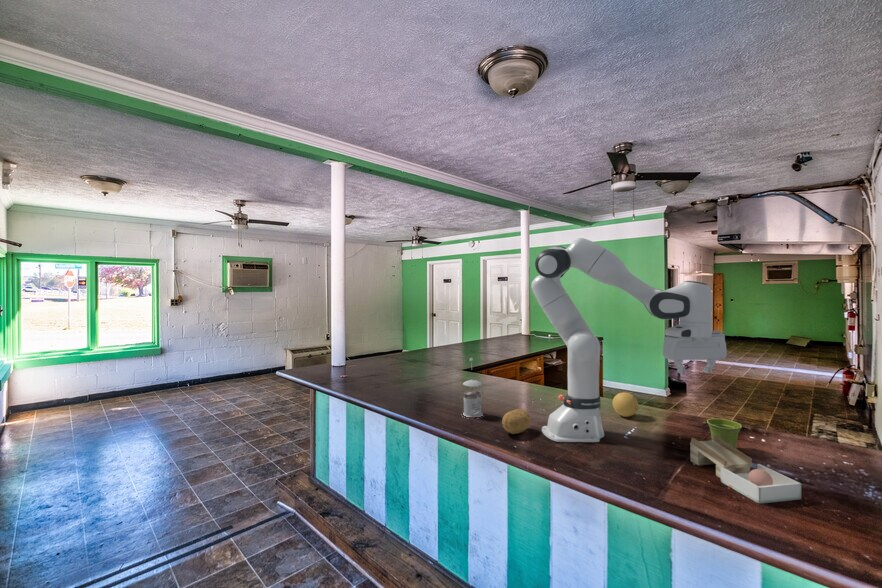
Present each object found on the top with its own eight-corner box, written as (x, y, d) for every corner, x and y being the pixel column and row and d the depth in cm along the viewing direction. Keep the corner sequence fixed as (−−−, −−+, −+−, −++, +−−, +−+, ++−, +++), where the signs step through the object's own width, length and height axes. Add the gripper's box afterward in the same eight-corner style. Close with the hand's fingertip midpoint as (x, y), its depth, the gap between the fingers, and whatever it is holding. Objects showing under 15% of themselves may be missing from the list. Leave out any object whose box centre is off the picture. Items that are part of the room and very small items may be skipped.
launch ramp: (724, 480, 108) (724, 454, 108) (690, 460, 120) (689, 437, 120) (752, 477, 109) (752, 451, 109) (716, 458, 121) (715, 435, 121)
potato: (494, 435, 145) (494, 414, 145) (513, 424, 156) (512, 405, 156) (518, 441, 139) (517, 419, 138) (535, 429, 149) (535, 409, 149)
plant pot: (749, 454, 124) (749, 427, 124) (722, 455, 123) (721, 428, 123) (726, 442, 133) (725, 417, 133) (700, 444, 133) (700, 419, 133)
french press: (456, 415, 168) (455, 358, 168) (472, 409, 177) (471, 354, 177) (475, 420, 162) (474, 360, 162) (490, 413, 171) (489, 356, 170)
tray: (758, 503, 96) (758, 487, 96) (720, 481, 107) (720, 467, 107) (801, 499, 98) (801, 483, 98) (759, 477, 109) (759, 463, 109)
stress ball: (614, 420, 161) (631, 409, 154) (603, 398, 167) (620, 387, 160) (630, 420, 165) (648, 410, 158) (620, 399, 171) (636, 388, 164)
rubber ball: (740, 472, 105) (753, 467, 101) (756, 470, 106) (770, 466, 102) (750, 492, 102) (764, 488, 98) (767, 490, 103) (782, 486, 99)
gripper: (716, 329, 130) (715, 370, 130) (660, 329, 128) (659, 371, 128) (732, 331, 124) (731, 374, 124) (673, 332, 121) (672, 375, 122)
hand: (694, 372), depth 126 cm, fingers open, 8 cm apart
